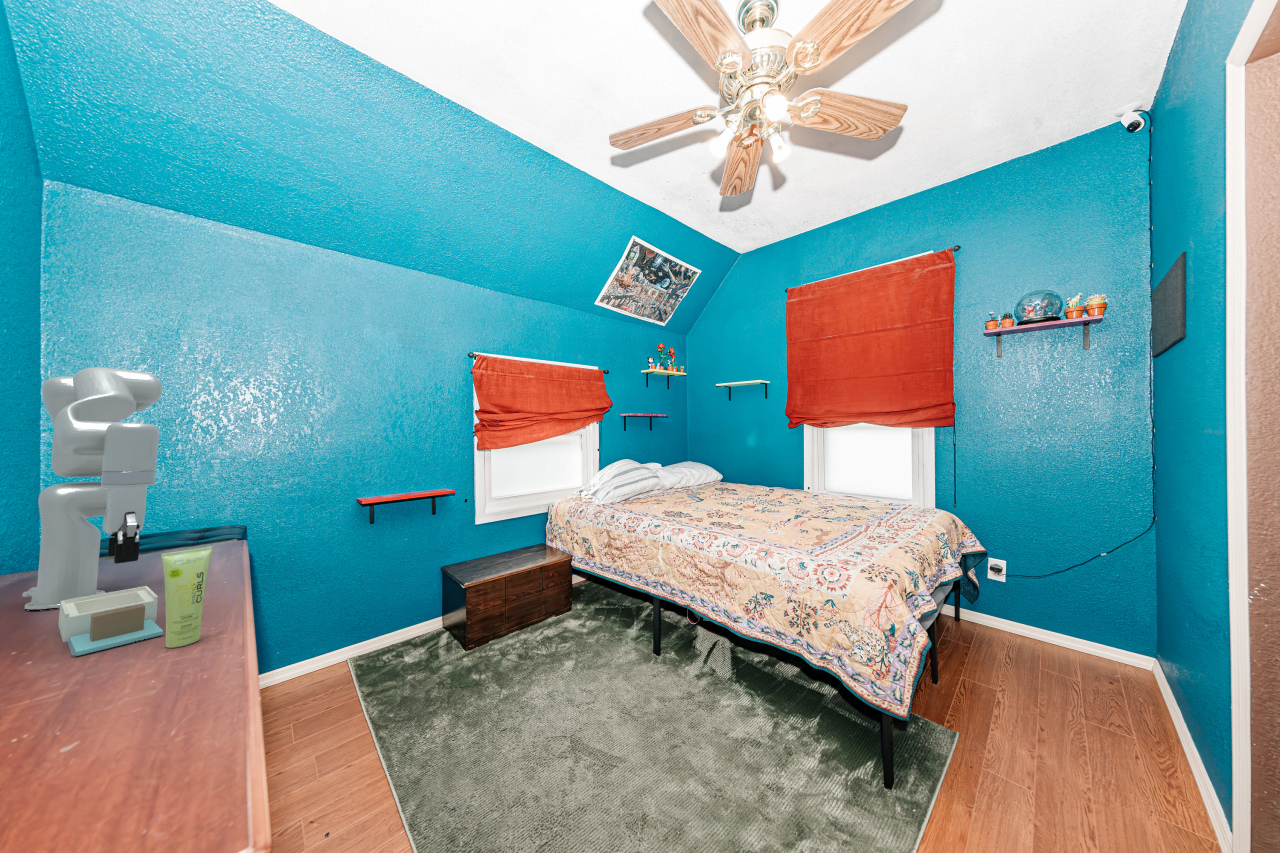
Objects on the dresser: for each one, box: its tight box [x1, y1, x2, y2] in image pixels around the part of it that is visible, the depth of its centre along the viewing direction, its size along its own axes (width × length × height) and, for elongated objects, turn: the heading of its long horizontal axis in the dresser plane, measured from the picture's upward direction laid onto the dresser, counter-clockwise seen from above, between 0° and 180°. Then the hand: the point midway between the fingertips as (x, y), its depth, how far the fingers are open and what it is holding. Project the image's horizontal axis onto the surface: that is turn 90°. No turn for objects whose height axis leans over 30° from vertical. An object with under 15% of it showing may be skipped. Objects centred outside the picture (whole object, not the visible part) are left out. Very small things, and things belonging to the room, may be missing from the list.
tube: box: [160, 546, 214, 649], centre depth 89 cm, size 6×5×20 cm
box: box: [57, 585, 159, 643], centre depth 98 cm, size 14×13×6 cm
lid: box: [69, 604, 164, 657], centre depth 90 cm, size 12×11×6 cm
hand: (122, 558), depth 91 cm, fingers open, 9 cm apart
